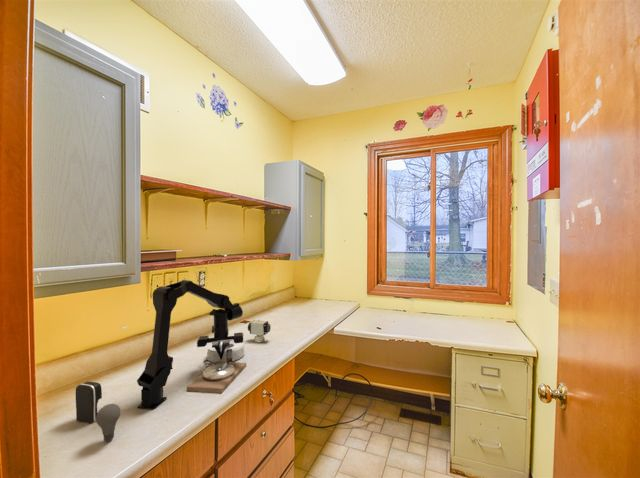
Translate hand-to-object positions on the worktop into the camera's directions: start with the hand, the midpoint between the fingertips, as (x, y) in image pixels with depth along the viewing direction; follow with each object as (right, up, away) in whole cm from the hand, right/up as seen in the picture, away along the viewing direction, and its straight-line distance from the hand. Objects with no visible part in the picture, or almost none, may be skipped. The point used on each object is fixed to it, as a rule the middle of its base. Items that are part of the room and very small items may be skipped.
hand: (221, 358), depth 124 cm
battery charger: (-30, -5, -33) cm, 45 cm away
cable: (-2, -5, +13) cm, 14 cm away
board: (+2, -4, -8) cm, 9 cm away
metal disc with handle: (+2, -2, -6) cm, 7 cm away
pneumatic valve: (+10, -4, +32) cm, 34 cm away
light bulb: (-17, -5, -44) cm, 47 cm away
